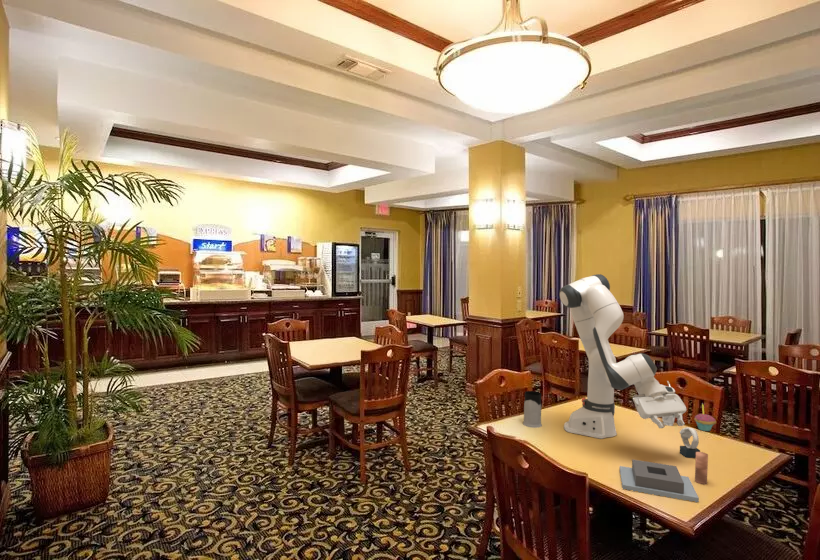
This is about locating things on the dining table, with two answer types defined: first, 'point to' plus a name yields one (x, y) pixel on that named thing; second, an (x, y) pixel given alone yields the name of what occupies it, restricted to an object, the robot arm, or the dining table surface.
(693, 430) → the watch
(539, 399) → the glass holder
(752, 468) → the dining table surface
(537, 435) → the dining table surface
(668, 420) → the cup with straw
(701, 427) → the cupcake
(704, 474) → the brown upright cylinder
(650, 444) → the dining table surface
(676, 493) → the tool stand
